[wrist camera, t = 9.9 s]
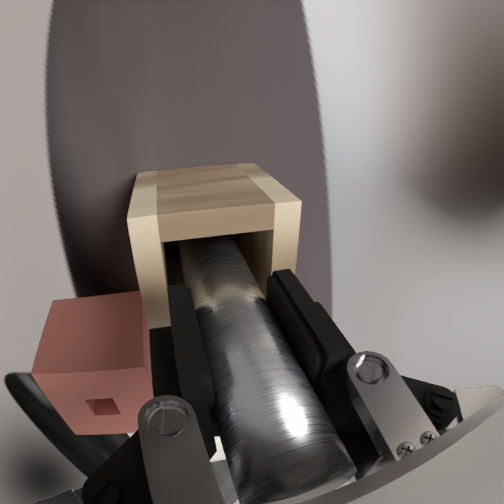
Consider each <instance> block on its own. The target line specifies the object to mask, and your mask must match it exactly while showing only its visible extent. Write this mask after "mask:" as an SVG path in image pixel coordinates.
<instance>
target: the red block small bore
mask: <svg viewBox="0 0 504 504" xmlns="http://www.w3.org/2000/svg"><path fill="white" fill-rule="evenodd" d="M31 375H32V376H33V378H34V379H35V381H36V382H37V384H38V385H39V387H40V388H41V390H42V391H43V393H44V394H45V395H46V397H47V398H48V400H49V401H50V402H51V404H52V405H53V406H54V408H55V409H56V410H57V412H58V413H59V414H60V416H61V417H62V418H63V420H64V421H65V422H66V423H67V425H68V426H69V427H70V428H71V429H72V431H73V432H74V433H75V434H76V435H94V434H119V433H135V432H136V431H137V430H138V413H139V411H140V409H141V407H142V406H143V405H144V404H145V403H146V402H147V401H149V400H150V399H152V398H154V397H153V386H152V374H151V359H150V341H149V326H148V322H147V318H146V314H145V310H144V305H143V301H142V297H141V292H140V291H133V292H125V293H116V294H108V295H99V296H91V297H82V298H73V299H64V300H54V301H53V303H52V305H51V309H50V311H49V314H48V317H47V320H46V323H45V326H44V330H43V333H42V336H41V340H40V343H39V346H38V350H37V353H36V357H35V361H34V364H33V368H32V372H31Z"/></svg>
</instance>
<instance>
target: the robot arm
mask: <svg viewBox="0 0 504 504" xmlns="http://www.w3.org/2000/svg"><path fill="white" fill-rule="evenodd" d="M167 293H168V303H169V312H170V321H171V326H167V327H160V328H152V329H149V341H150V359H151V374H152V386H153V397H154V398H152V399H150V400H149V401H147V402H146V403H145V404H144V405H143V406H142V407H141V409H140V411H139V413H138V430H137V431H136V432H135V433H134V434H133V435H132V436H131V437H130V438H129V439H128V440H127V441H126V442H125V443H124V444H123V445H122V446H121V447H120V448H119V449H118V450H117V451H116V452H115V453H114V454H113V455H112V456H111V457H110V458H109V459H108V460H106V461H105V462H104V463H103V464H102V465H101V466H100V467H99V468H98V469H97V470H96V471H95V472H94V473H93V474H92V475H91V476H90V477H89V478H88V479H87V480H86V482H85V483H84V485H83V487H82V488H80V489H78V490H75V491H74V490H72V489H70V490H67V491H65V492H62V493H60V494H57V495H55V496H52V497H49V498H46V499H44V500H41V501H38V502H35V503H32V504H225V502H224V499H223V497H222V494H221V491H220V488H219V486H218V483H217V480H216V477H215V474H214V471H213V469H212V466H211V463H210V459H211V458H212V457H213V456H214V454H215V453H216V452H217V448H216V443H215V438H214V437H217V436H219V433H218V429H217V425H216V421H215V418H214V411H215V408H216V405H215V398H214V390H213V384H212V379H211V374H210V370H209V366H208V362H207V358H206V353H205V349H204V345H203V341H202V337H201V332H200V328H199V324H198V319H197V315H196V310H195V306H194V301H193V296H192V292H191V287H187V288H184V285H183V284H175V285H168V286H167ZM266 301H267V303H268V305H269V307H270V309H271V311H272V313H273V315H274V317H275V319H276V320H277V322H278V324H279V326H280V328H281V330H282V332H283V334H284V335H285V337H286V339H287V341H288V343H289V345H290V347H291V349H292V350H293V352H294V354H295V356H296V358H297V360H298V362H299V364H300V365H301V367H302V369H303V371H304V373H305V375H306V377H307V379H308V380H309V382H310V384H311V386H312V388H313V390H314V392H315V393H316V395H317V397H318V399H319V401H320V403H321V404H322V406H323V408H324V410H325V412H326V414H327V416H328V417H329V419H330V421H331V423H332V425H333V427H334V428H335V430H336V432H337V434H338V436H339V438H340V439H341V441H342V443H343V445H344V447H345V449H346V450H347V452H348V454H349V456H350V458H351V460H352V461H353V463H354V465H355V467H356V469H357V472H356V473H355V475H354V476H353V477H352V478H351V479H350V480H349V482H350V484H348V485H346V486H343V487H341V488H339V489H336V490H333V491H331V492H328V493H326V494H323V495H320V496H317V497H315V498H312V499H309V500H306V501H303V502H300V503H297V504H504V390H503V389H502V388H500V387H497V386H488V387H478V388H467V389H456V390H454V391H453V392H452V391H450V390H449V389H447V388H445V387H442V386H438V385H434V384H430V383H427V382H423V381H419V380H415V379H412V378H408V377H404V376H401V375H399V373H398V372H397V370H396V369H395V367H394V366H393V364H392V363H391V362H390V361H389V360H388V359H387V358H386V357H384V356H383V355H381V354H379V353H376V352H371V351H364V352H359V353H356V352H355V351H354V349H353V348H352V347H351V345H350V344H349V342H348V341H347V340H346V338H345V337H344V335H343V334H342V333H341V331H340V330H339V329H338V327H337V326H336V324H335V323H334V322H333V320H332V319H331V318H330V316H329V315H328V313H327V312H326V311H325V309H324V308H323V307H322V305H321V304H320V303H319V302H314V301H313V300H312V298H311V297H310V296H309V294H308V293H307V291H306V290H305V289H304V287H303V286H302V285H301V283H300V282H299V280H298V279H297V278H296V276H295V275H294V273H293V272H292V271H291V270H290V269H283V270H276V271H273V272H272V275H271V276H268V277H267V289H266Z"/></svg>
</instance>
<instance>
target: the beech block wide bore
mask: <svg viewBox="0 0 504 504" xmlns="http://www.w3.org/2000/svg"><path fill="white" fill-rule="evenodd" d="M301 204H302V201H301V200H300V199H298V198H297V197H296V196H295V195H294V194H292V193H291V192H290V191H289V190H287V189H286V188H285V187H284V186H282V185H281V184H280V183H279V182H277V181H276V180H275V179H274V178H272V177H271V176H270V175H269V174H267V173H266V172H265V171H264V170H262V169H261V168H260V167H259V166H257V165H256V164H255V163H242V164H225V165H211V166H198V167H187V168H176V169H166V170H157V171H148V172H140V173H137V177H136V181H135V185H134V189H133V193H132V197H131V202H130V206H129V210H128V215H127V223H128V230H129V236H130V242H131V247H132V253H133V258H134V263H135V268H136V273H137V278H138V283H139V288H140V292H141V297H142V301H143V305H144V310H145V314H146V318H147V322H148V326H149V329H152V328H160V327H167V326H171V321H170V312H169V303H168V293H167V286H168V285H175V284H183V285H184V288H186V286H185V281H184V275H183V270H182V264H181V258H180V256H176V257H168V258H166V252H165V244H164V242H168V241H176V240H185V239H193V238H202V237H210V236H219V235H228V234H235V242H236V244H237V246H238V248H239V250H240V252H241V254H242V256H243V258H244V260H245V262H246V263H247V265H248V267H249V269H250V271H251V273H252V275H253V277H254V279H255V281H256V283H257V284H258V286H259V288H260V290H261V292H262V294H263V296H264V298H265V300H266V289H267V277H268V276H271V275H272V272H273V271H276V270H283V269H290V270H291V271H292V272H293V273H294V275H295V268H296V258H297V248H298V238H299V227H300V216H301Z"/></svg>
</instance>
